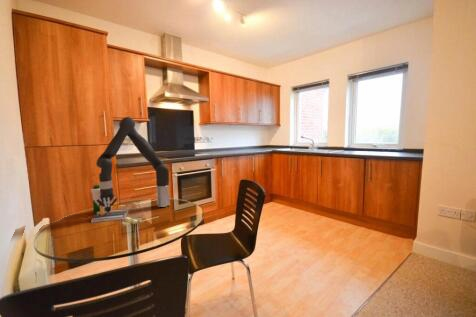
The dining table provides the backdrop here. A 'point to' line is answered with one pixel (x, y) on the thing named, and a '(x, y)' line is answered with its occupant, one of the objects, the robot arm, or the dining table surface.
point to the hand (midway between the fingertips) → (108, 211)
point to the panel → (111, 218)
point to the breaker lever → (102, 211)
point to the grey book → (110, 215)
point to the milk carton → (96, 196)
